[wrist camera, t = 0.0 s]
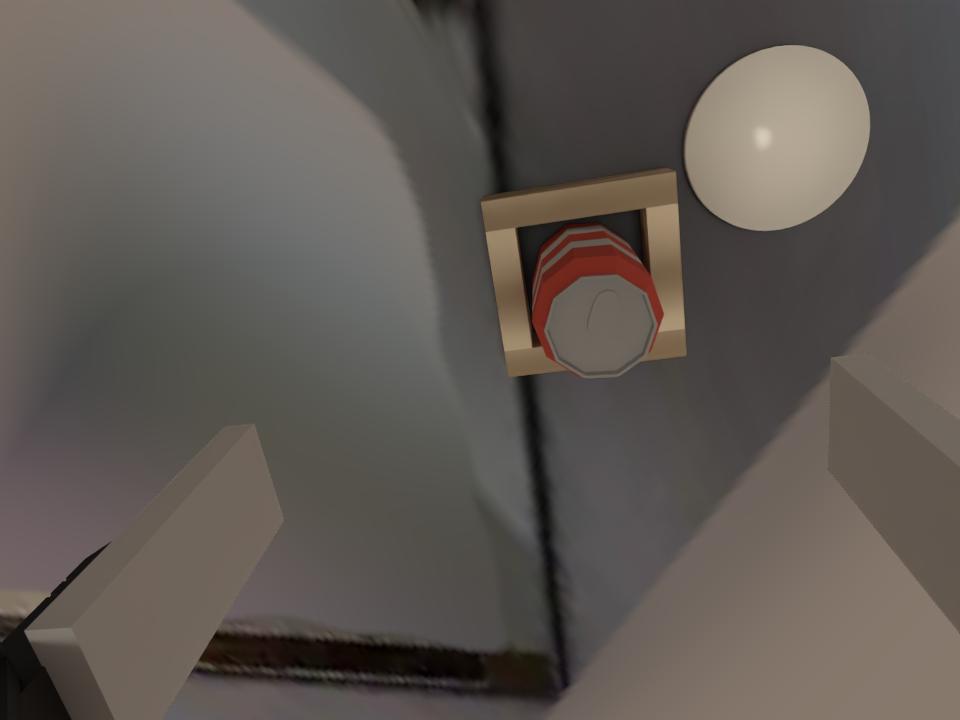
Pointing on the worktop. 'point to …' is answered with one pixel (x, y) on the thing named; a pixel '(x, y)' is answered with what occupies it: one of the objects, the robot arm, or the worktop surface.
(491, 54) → the worktop surface
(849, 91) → the coaster
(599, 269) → the beverage can
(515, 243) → the oak holder
